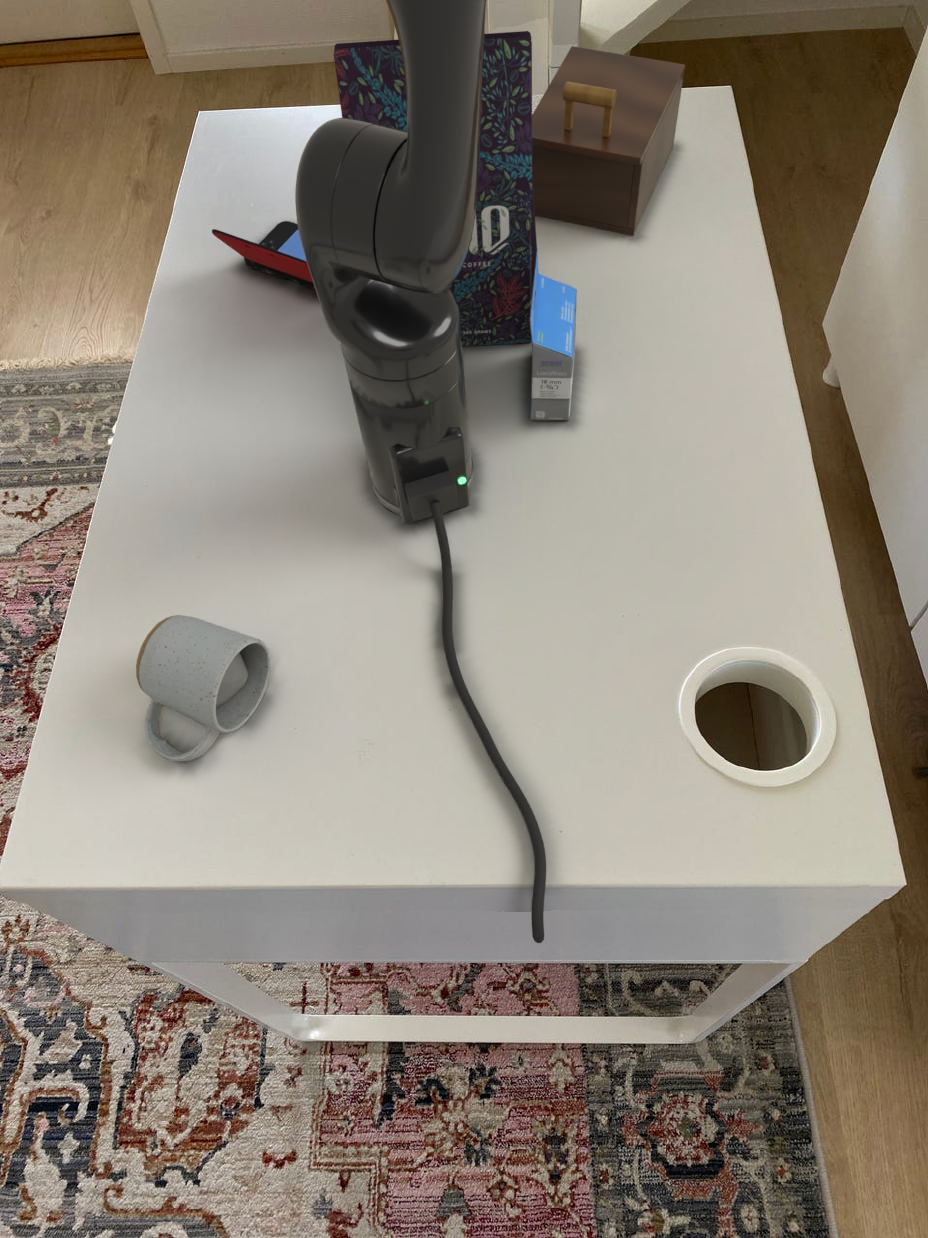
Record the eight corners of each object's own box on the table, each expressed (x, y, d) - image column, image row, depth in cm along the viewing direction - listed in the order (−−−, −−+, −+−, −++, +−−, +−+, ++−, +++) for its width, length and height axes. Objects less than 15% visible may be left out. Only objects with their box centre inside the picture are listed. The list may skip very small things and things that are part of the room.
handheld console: (379, 258, 101) (368, 198, 95) (323, 323, 97) (308, 264, 90) (284, 225, 105) (268, 164, 98) (226, 286, 101) (206, 227, 94)
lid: (640, 165, 93) (646, 113, 88) (520, 142, 96) (519, 90, 91) (684, 71, 100) (692, 18, 95) (571, 52, 103) (573, 0, 98)
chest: (633, 236, 101) (642, 160, 93) (523, 212, 104) (522, 138, 96) (673, 148, 108) (684, 72, 100) (568, 129, 110) (571, 53, 103)
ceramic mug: (196, 635, 79) (165, 590, 73) (281, 667, 77) (256, 623, 71) (128, 745, 75) (88, 708, 68) (216, 782, 73) (183, 747, 66)
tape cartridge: (570, 423, 89) (576, 323, 78) (529, 421, 89) (529, 321, 78) (574, 354, 93) (580, 250, 82) (534, 352, 93) (535, 249, 82)
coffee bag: (537, 346, 94) (541, 64, 69) (373, 354, 94) (320, 78, 70) (533, 288, 98) (535, 3, 73) (376, 297, 98) (327, 17, 74)
